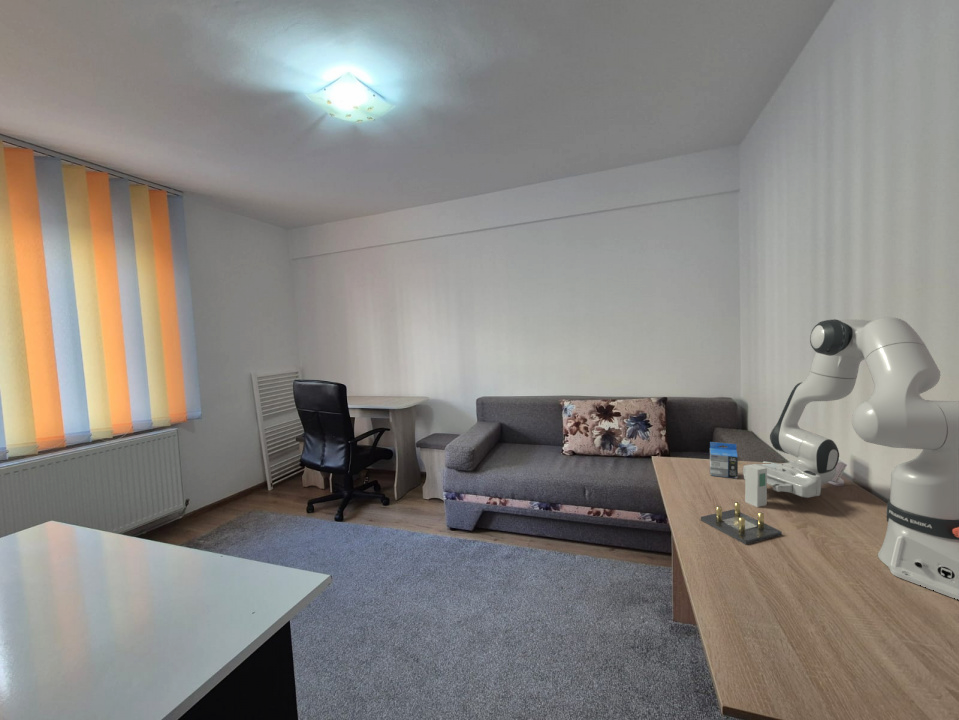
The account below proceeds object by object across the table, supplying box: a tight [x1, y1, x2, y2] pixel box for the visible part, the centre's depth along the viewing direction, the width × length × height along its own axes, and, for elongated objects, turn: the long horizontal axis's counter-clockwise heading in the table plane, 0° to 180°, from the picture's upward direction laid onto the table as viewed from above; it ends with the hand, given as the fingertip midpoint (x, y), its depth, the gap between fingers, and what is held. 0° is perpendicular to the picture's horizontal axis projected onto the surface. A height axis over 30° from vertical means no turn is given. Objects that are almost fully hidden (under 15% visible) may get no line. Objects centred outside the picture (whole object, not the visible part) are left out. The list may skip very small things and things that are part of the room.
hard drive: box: [761, 461, 780, 468], centre depth 149 cm, size 2×8×12 cm
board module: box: [744, 463, 768, 508], centre depth 122 cm, size 4×4×12 cm
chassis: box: [700, 501, 783, 545], centre depth 109 cm, size 14×13×5 cm
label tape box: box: [709, 441, 739, 479], centre depth 145 cm, size 9×4×12 cm, turn 61°
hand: (759, 482), depth 123 cm, fingers open, 8 cm apart
